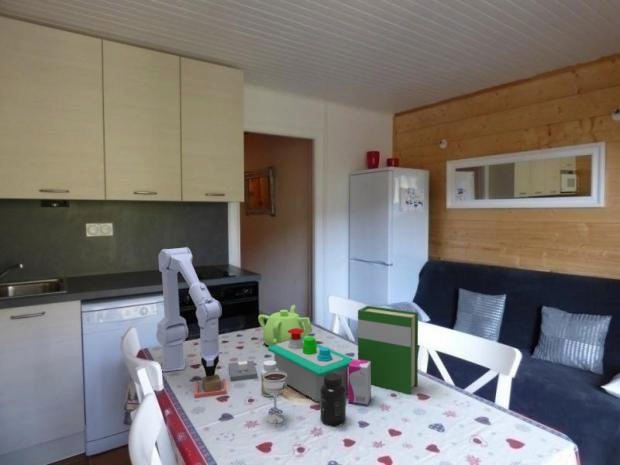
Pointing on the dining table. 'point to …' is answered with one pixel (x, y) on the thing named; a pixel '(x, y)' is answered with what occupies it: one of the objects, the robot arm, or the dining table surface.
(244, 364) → the switch
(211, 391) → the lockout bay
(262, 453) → the dining table surface
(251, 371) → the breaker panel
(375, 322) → the hardback book
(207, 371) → the robot arm
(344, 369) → the control panel
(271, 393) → the wineglass
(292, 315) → the teapot
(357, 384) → the supplement box
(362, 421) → the dining table surface
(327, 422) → the supplement bottle
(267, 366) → the supplement bottle
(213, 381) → the block
